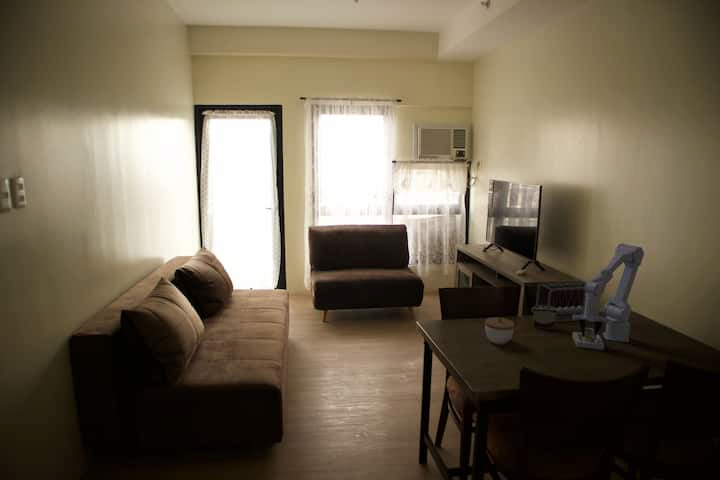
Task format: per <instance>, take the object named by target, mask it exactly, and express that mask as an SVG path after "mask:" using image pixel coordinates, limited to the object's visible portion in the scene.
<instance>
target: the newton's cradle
mask: <svg viewBox="0 0 720 480" xmlns="http://www.w3.org/2000/svg"><path fill="white" fill-rule="evenodd" d="M586 282H587V281H569V282H554V283H540V284H538V286H537V291H536V301H535V303H536V304H535V305H540V302H539V301H540V291H541V287H545V288H547V289H548V290H549V289H550V290H549V292H548V296H547V297H548V299H547V306H551V300H552V297H553V300H552V301H553V302H552V303H554V302H557V300H558V299H556V300H555V296H554V295H555V292H557V296H556V298H558V295H559V294H560V292H562V291H564V293H563V294H564V295H563V298H562V301H561V304H560V306H559V307H556V305H557V303H554V306H553V307H554V308H556V309H557V310H558V313H557V314H556V316H568V314H569V315H584V309H585V300H586V296H585V293H583V296H582V297H583V298H582V299H581V298H580V296H581V295H580V294H581V293H580V292H579V291H581V290H583V291H584V286H581V285H585V284H586ZM577 285H578V286H577ZM557 286H559V287H557ZM561 286H563V287H561ZM566 286H568V287H566ZM574 286H575V287H574ZM551 287H552V288H551ZM554 287H555V288H554ZM567 291H571V292H570V293H573V291H577V294H576V297H575V298H577V297H578V296H579V297H578V298H579V301H583V302H580V305H578V306H577V307H576V306H575V305H576V303H573V305H572V306H570V307H569V306H568V305H569V303H570V302H568V301H570V299H571V298H569V300H568V299H567V297H568V296H567ZM565 294H566V306H565V307H562V305H563V302H564V299H565ZM552 295H553V296H552ZM571 295H572V294H570V296H569V297H571ZM554 300H555V301H554ZM567 300H568V301H567ZM576 300H577V299H575V301H574V302H576ZM567 303H568V304H567ZM582 303H583V305H582ZM567 322H568V323H569V322H579V320H573V318H571V319H567V318H566V319H558V320H557V319H555V323H554V324H556V323H567Z"/></svg>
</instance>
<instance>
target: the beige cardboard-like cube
mask: <svg viewBox="0 0 720 480" xmlns="http://www.w3.org/2000/svg"><path fill="white" fill-rule="evenodd" d="M594 338H595V331H594V327H593V328H592V327H585V334H584V337H583V336H582V339H583V341H585V342H594Z"/></svg>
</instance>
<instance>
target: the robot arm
mask: <svg viewBox="0 0 720 480" xmlns="http://www.w3.org/2000/svg"><path fill="white" fill-rule="evenodd" d="M644 256H645V252H644V249H643V248H642V247H641V246H635V245H631V244H626V243H620V244H618V245H617V246H616V248H615V250H614V255H613V257H612V258H611V260H610V261H609V262H608V264H607V265H606V267H605V268H601V269H600V270H599V271H598V272H597V273H596V275H595V276H594V277H592V279H591V280H588V281H585V282H586V284H584V285H583V287H584V290H583V292H584V295H585V296H586V300H585V309H584V314H572V319H573V320H579V321H578V322H579V325H580V330H581V333H582V336H583V337H584V334H585V328H586V326H587V323H586V322H592V323H593V330H594V331H595V337H596V335H598V332H599V331H600V329H601V328H602V327H603V324H606V325H605V332H602V335H603V337H604V339H605V340H606V341H615V342H623V343H629V337H630V331H631V324H630V321H629V319H630V317H631V309H632V306H630V304H629V303H628V299H629V296H630V293H631V291H632V289H633V288H632V287H633V285H634V281H635V278H636V276H637V273H638V270H639V267H640V266H641V264H642V262H643V258H644ZM622 264H624V268H623V271H622V274H621V277H620V280H619V283H618V285H617V289H616V292H615V295H614V297H612V298H611V299H608V300H607V303H606V304H605V306H604V308H603V314H604V316H605V317H602V316H599V312H600V310H599V309H600V303H601V296H602V295H603V294H604V293H605V291H606V290H605V289H606V287H607V284H608V283H610V281H611V280H612V279H613V277H614V275H613V273H615V271H616V270H618V268H619V267H620V266H621V265H622Z"/></svg>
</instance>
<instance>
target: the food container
mask: <svg viewBox="0 0 720 480" xmlns="http://www.w3.org/2000/svg"><path fill="white" fill-rule="evenodd" d="M554 307H555V306H551V305H550V306H548V304H547V305H545V304H538V305H536V304H535V305H534V306H533V307H532V308H531V312H532V322H533V323H532V324H533V325H532V326H533V328H535V329H554V327H555V324H556V323H555V320H556V317H557V315H556V314H557V313H558V310H557V307H555V308H554Z"/></svg>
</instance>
